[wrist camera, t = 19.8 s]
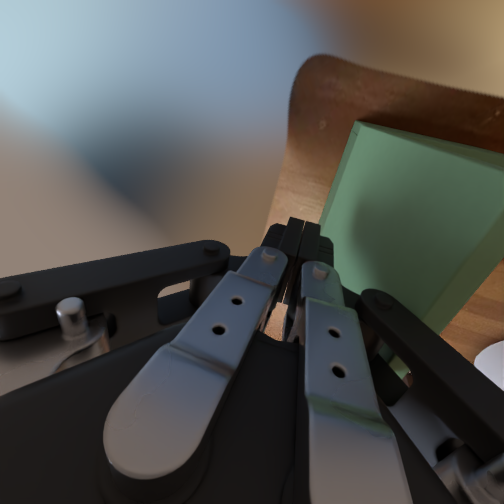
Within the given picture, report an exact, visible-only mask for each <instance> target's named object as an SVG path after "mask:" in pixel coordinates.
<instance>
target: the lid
mask: <svg viewBox="0 0 504 504" xmlns="http://www.w3.org/2000/svg"><path fill="white" fill-rule="evenodd" d="M321 236H325V237H328V238H330V240H331V241H332V242H333V244H334V250H333V251H334V255H333V256H334V269H335V270H336V271H337V272H338V273H339V276H340V280H341V284H342V285H343V286H344V287H346V288H347V289H349V290H351V291H353V292H355V293H357V294H359V295H360V294H361V292H362V291H363V290H364V289H369V288H371V289H377V290H381V291H383V292H386V293H388V294H389V295H391V296H393V297H394V298H395V299H397V300H398V301H399V302H400V303H401V304H402V305H404V306H405V307H406V308H407V309H408V310H409V311H411V312H412V313H413V314H414V315H415V316H416V317H418V318H419V319H420V320H421V321H422V322H423V323H425V324H426V325H427V326H428V327H429V328H430V329H432V330H433V331H434V332H435V333H436V334H437V335H440V333H441V332H442V331H443V330H444V329H445V327H446V326H447V325H448V324H449V323H450V321H451V320H452V319H453V318H454V317H455V315H456V314H457V313H458V312H459V311H460V309H461V308H462V307H463V306H464V305H465V303H466V302H467V301H468V300H469V299H470V297H471V296H472V295H473V294H474V293H475V291H476V290H477V289H478V288H479V287H480V285H481V284H482V283H483V282H484V280H485V279H486V278H487V277H488V276H489V274H490V273H491V272H492V271H493V270H494V268H495V267H496V266H497V265H498V264H499V262H500V261H501V260H502V259H503V258H504V167H500V166H497V165H494V164H491V163H488V162H484V161H481V160H478V159H475V158H472V157H468V156H465V155H462V154H459V153H455V152H452V151H449V150H446V149H443V148H439V147H436V146H433V145H430V144H427V143H423V142H420V141H417V140H414V139H410V138H407V137H404V136H401V135H398V134H394V133H391V132H388V131H385V130H382V129H378V128H375V127H371V126H366V125H362V126H361V128H360V131H359V133H358V136H357V139H356V141H355V144H354V147H353V149H352V152H351V155H350V158H349V160H348V163H347V166H346V168H345V171H344V174H343V176H342V179H341V182H340V185H339V187H338V190H337V193H336V195H335V198H334V201H333V203H332V206H331V209H330V212H329V214H328V217H327V220H326V222H325V225H324V228H323V230H322V233H321ZM378 353H379V355H380V356H381V357H382V358H383V359H384V360H385V361H386V362H387V364H388V365H389V366H390V367H391V368H392V369H393V370H394V371H395V372H396V374H397V375H398V376H399V377H400V378H401V379H403V378H404V377H405V375H406V374H407V373H408V372H409V371H410V370H409V368H408V367H407V366H406V365H405V364H404V363H403V362H402V360H401V359H400V358H399V357H398V356H397V355H396V354H395V353H394V352H393V351H392V350H391V349H390V348H389V347H388V346H387V345H386V344H385V343H384V345H383V346H382V348H381V349H380V350H379V352H378Z"/></svg>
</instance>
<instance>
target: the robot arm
mask: <svg viewBox="0 0 504 504" xmlns="http://www.w3.org/2000/svg"><path fill="white" fill-rule="evenodd" d="M304 222H305V221H304V220H301V219H297V218H293V217H290V218H289V221H288V224H287V226H285V225H282V224H278V223H276V224H274V225H272V226H270V228H269V230H268V232H267V234H266V236H265V238H264V240H263V242H262V244H261V246H260V247H257V248H255V249H253V250H252V252H251V253H250V254H249V256H244V257H242V256H241V257H240V256H231V255H230V249H229V247H228V246H227V245H225V244H223V243H221V242H219V241H214V240H202V241H196V242H191V243H186V244H180V245H175V246H169V247H165V248H159V249H153V250H148V251H143V252H137V253H132V254H127V255H121V256H116V257H111V258H106V259H100V260H95V261H89V262H84V263H79V264H73V265H68V266H63V267H57V268H52V269H47V270H41V271H36V272H31V273H25V274H20V275H15V276H9V277H5V278H0V504H504V391H503V390H502V389H501V388H499V387H498V386H497V385H496V384H495V383H494V382H492V381H491V380H490V379H489V378H488V377H487V376H485V375H484V374H483V373H482V372H481V371H480V370H478V369H477V368H476V367H475V366H474V365H473V364H471V363H470V362H469V361H468V360H467V359H466V358H464V357H463V356H462V355H461V354H460V353H459V352H457V351H456V350H455V349H454V348H453V347H451V346H450V345H449V344H448V343H447V342H446V341H444V340H443V339H442V338H441V337H440V336H439V335H437V334H436V333H435V332H434V331H433V330H432V329H430V328H429V327H428V326H427V325H426V324H425V323H423V322H422V321H421V320H420V319H419V318H418V317H416V316H415V315H414V314H413V313H412V312H411V311H409V310H408V309H407V308H406V307H405V306H404V305H402V304H401V303H400V302H399V301H398V300H397V299H395V298H394V297H393V296H391V295H389V294H388V293H386V292H383V291H381V290H377V289H371V288H369V289H364V290H363V291H362V292H361V294H360V295H359V294H357V293H355V292H353V291H351V290H349V289H347V288H346V287H344V286H343V285H342V284H341V280H340V276H339V273H338V272H337V271H336V270H335V269H334V256H333V255H334V251H333V250H334V244H333V242H332V241H331V240H330V238H328V237H325V236H321V235H320V231H321V225H319V224H315V223H312V222H308V221H306V222H305V225H304ZM303 226H304V228H303ZM302 230H303V231H302ZM189 280H190V289H187V290H184V291H180V292H177V293H174V294H170V295H167V296H164V297H161V298H157V297H158V294H159V293H160V291H161V290H162V289H164V288H165V287H168V286H171V285H174V284H178V283H182V282H185V281H189ZM287 284H288V285H287ZM286 287H287V289H286ZM285 290H286V293H285ZM284 293H285V297H284V301H283V304H287V305H288V309H287V312H286V315H285V318H284V323H283V332H282V341H278V340H275V339H273V338H271V337H270V336H268V335H266V334H264V332H265V329H266V327H267V324H268V322H269V320H270V317H271V314H272V311H273V309H274V308H275V307H276V304H277V302H280V303H281V302H282V299H283V296H284ZM384 343H385V344H386V345H387V346H388V347H389V348H390V349H391V350H392V351H393V352H394V353H395V354H396V355H397V356H398V357H399V358H400V359H401V360H402V362H403V363H404V364H405V365H406V366H407V367H408V368H409V370H410V371H411V373H412V377H413V383H412V385H411V386H410V388H409V387H408V386H407V385H406V384H405V383H404V381H403V380H402V379H401V378H400V377H399V376H398V375H397V374H396V372H395V371H394V370H393V369H392V368H391V367H390V366H389V365H388V364H387V362H386V361H385V360H384V359H383V358H382V357H381V356H380V355H379V353H378V352H379V350H380V349H381V348H382V346H383V345H384Z"/></svg>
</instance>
